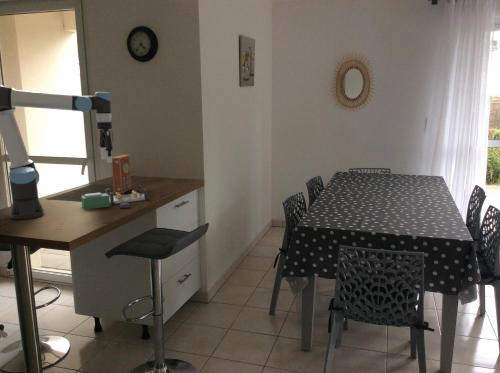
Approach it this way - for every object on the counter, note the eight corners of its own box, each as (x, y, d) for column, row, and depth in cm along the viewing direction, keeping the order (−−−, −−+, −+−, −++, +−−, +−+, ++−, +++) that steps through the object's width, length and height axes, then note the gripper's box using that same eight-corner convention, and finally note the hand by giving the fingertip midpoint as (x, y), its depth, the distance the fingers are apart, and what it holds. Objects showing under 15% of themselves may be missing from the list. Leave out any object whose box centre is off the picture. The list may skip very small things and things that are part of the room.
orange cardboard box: (133, 188, 287) (122, 193, 272) (123, 188, 288) (111, 193, 274) (131, 154, 282) (119, 158, 268) (120, 154, 283) (108, 158, 269)
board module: (84, 209, 238) (83, 196, 236) (82, 206, 244) (81, 194, 242) (109, 206, 244) (108, 193, 242) (107, 203, 250) (106, 191, 248)
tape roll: (121, 209, 238) (120, 205, 237) (119, 207, 242) (118, 203, 242) (130, 208, 240) (130, 204, 239) (128, 206, 244) (128, 202, 244)
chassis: (111, 204, 248) (110, 193, 246) (106, 199, 259) (105, 189, 258) (147, 199, 257) (147, 189, 256) (141, 195, 268) (140, 185, 267)
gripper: (117, 122, 235) (119, 163, 240) (106, 120, 257) (108, 157, 261) (102, 123, 232) (104, 164, 236) (92, 120, 253) (94, 158, 257)
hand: (106, 161), depth 248 cm, fingers open, 13 cm apart
